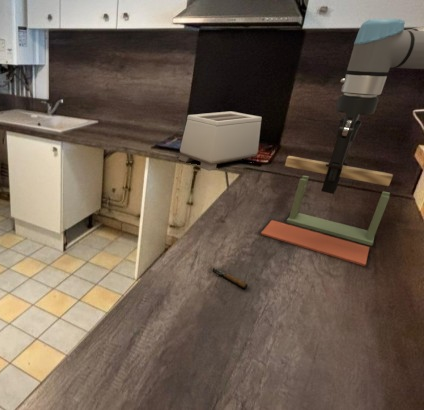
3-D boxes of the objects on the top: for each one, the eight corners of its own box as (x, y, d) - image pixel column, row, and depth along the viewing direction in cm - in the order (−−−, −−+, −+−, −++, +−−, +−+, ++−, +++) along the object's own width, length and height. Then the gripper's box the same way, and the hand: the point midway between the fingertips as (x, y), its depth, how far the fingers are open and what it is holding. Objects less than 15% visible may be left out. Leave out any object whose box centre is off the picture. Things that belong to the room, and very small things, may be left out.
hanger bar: (389, 183, 84) (393, 174, 83) (388, 186, 82) (392, 176, 81) (286, 164, 97) (289, 155, 96) (284, 166, 95) (286, 157, 94)
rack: (374, 235, 101) (391, 191, 96) (371, 246, 96) (390, 199, 90) (292, 214, 114) (303, 173, 108) (286, 222, 108) (297, 180, 102)
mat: (368, 249, 94) (369, 247, 94) (364, 266, 86) (365, 264, 86) (271, 221, 108) (271, 219, 108) (260, 234, 100) (261, 232, 100)
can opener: (247, 288, 77) (248, 283, 77) (240, 291, 76) (241, 286, 76) (215, 267, 85) (216, 263, 84) (208, 270, 84) (209, 265, 83)
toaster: (260, 160, 168) (270, 116, 160) (209, 170, 153) (217, 122, 144) (227, 151, 184) (235, 110, 175) (177, 159, 168) (183, 114, 160)
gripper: (344, 91, 90) (317, 179, 99) (334, 96, 79) (305, 195, 88) (381, 94, 85) (349, 186, 95) (377, 99, 74) (341, 203, 84)
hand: (328, 190), depth 91 cm, fingers closed on hanger bar, 2 cm apart
